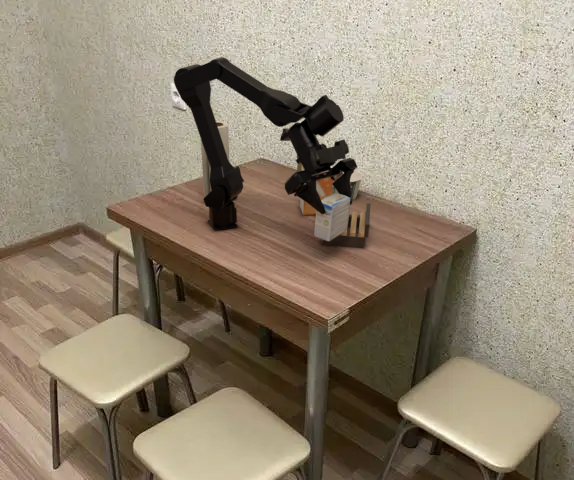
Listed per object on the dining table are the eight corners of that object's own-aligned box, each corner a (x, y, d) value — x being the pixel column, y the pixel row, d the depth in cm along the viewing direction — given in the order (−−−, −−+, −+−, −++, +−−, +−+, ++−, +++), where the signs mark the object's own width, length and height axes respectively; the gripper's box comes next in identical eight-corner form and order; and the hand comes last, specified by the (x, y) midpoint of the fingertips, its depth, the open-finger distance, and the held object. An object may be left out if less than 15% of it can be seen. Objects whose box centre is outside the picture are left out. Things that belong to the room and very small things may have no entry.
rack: (322, 244, 147) (324, 220, 143) (326, 222, 159) (328, 200, 155) (366, 248, 146) (369, 224, 142) (367, 226, 157) (370, 203, 154)
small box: (302, 215, 162) (305, 169, 154) (299, 206, 167) (301, 161, 159) (331, 214, 163) (334, 169, 155) (326, 206, 168) (330, 161, 160)
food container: (369, 196, 175) (371, 175, 171) (341, 206, 169) (343, 184, 165) (341, 185, 182) (343, 164, 178) (313, 193, 176) (314, 172, 172)
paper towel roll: (232, 196, 172) (230, 121, 160) (228, 203, 168) (226, 127, 155) (208, 194, 173) (204, 120, 160) (204, 202, 168) (199, 125, 155)
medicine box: (331, 226, 141) (335, 191, 136) (347, 231, 139) (351, 196, 134) (313, 236, 136) (316, 201, 130) (329, 242, 134) (332, 206, 128)
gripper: (295, 135, 120) (328, 202, 121) (356, 121, 131) (386, 183, 131) (270, 162, 130) (300, 224, 130) (329, 148, 140) (357, 205, 140)
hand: (337, 209), depth 133 cm, fingers closed on medicine box, 8 cm apart
